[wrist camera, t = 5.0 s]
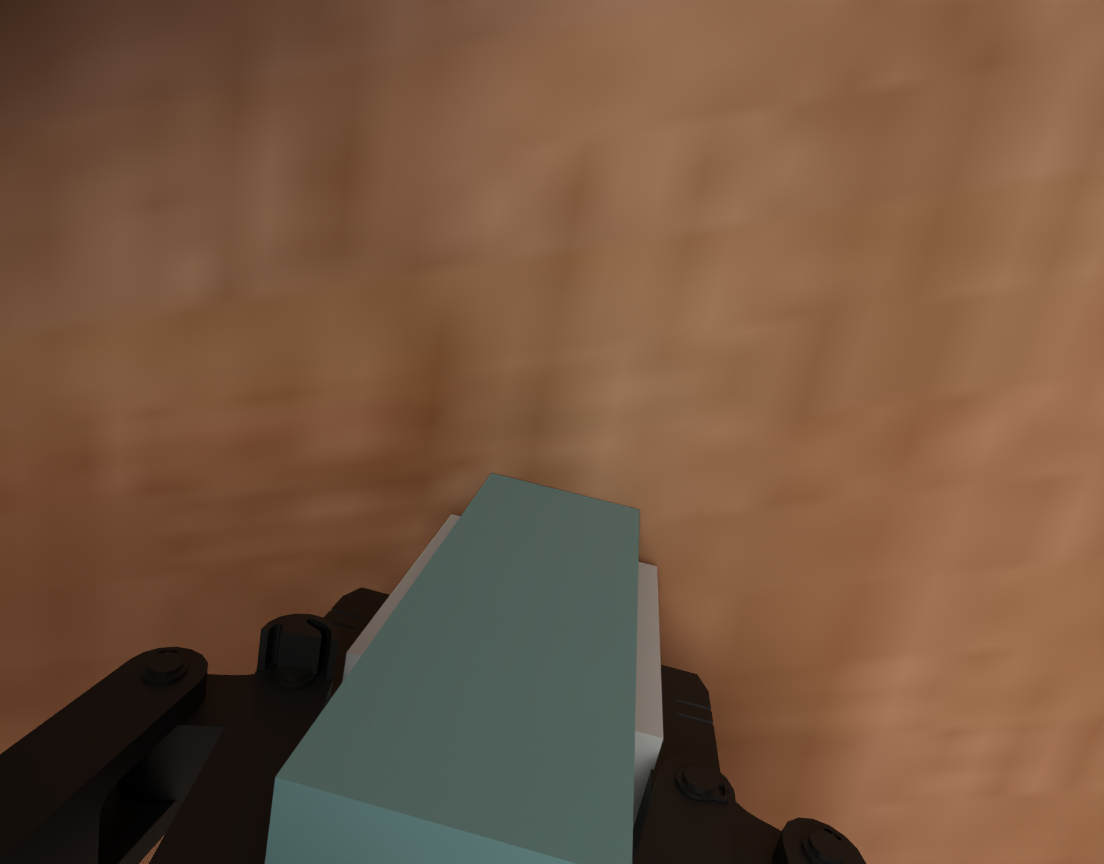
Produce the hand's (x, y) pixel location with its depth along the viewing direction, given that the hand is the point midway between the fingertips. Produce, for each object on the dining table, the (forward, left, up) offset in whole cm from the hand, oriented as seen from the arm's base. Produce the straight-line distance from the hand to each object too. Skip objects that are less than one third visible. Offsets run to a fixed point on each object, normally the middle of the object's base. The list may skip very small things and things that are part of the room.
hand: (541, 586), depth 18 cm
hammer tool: (+9, 0, -1) cm, 9 cm away
